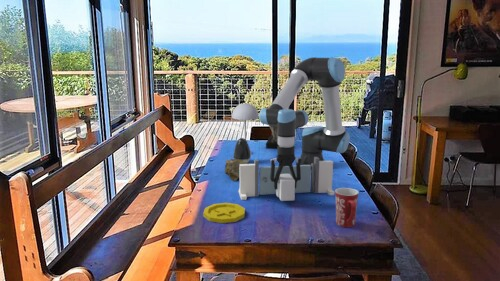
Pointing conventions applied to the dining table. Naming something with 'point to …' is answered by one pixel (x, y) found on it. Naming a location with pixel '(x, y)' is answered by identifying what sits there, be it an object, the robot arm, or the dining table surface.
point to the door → (302, 185)
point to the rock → (233, 168)
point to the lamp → (245, 114)
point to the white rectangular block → (286, 187)
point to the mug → (346, 206)
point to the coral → (273, 138)
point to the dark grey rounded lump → (242, 150)
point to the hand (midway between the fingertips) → (285, 195)
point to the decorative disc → (224, 212)
